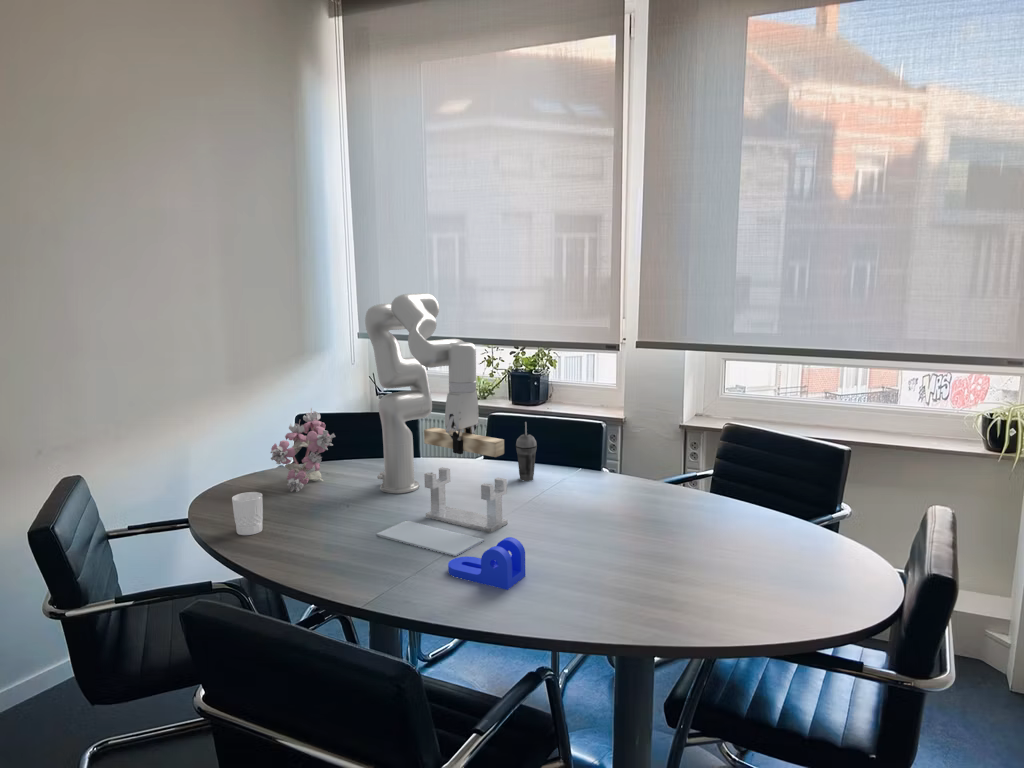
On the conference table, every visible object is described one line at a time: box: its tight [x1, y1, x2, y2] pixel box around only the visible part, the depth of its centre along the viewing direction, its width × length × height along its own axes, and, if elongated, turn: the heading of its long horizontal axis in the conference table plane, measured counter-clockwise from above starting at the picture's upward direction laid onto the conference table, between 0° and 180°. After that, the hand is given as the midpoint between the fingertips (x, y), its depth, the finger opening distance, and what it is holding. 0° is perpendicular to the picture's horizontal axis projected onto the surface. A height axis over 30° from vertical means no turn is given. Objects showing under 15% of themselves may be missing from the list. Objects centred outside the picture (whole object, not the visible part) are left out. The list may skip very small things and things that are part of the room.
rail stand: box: [423, 467, 508, 533], centre depth 205 cm, size 23×8×13 cm, turn 56°
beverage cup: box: [515, 421, 538, 482], centre depth 244 cm, size 7×7×20 cm
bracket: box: [447, 536, 526, 591], centre depth 170 cm, size 18×8×9 cm, turn 61°
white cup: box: [231, 491, 264, 536], centre depth 200 cm, size 8×8×10 cm
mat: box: [376, 520, 485, 557], centre depth 193 cm, size 27×12×1 cm, turn 56°
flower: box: [270, 407, 336, 493], centre depth 241 cm, size 20×22×25 cm
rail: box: [423, 426, 505, 458], centre depth 203 cm, size 25×4×4 cm, turn 56°
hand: (463, 450), depth 204 cm, fingers closed on rail, 4 cm apart
